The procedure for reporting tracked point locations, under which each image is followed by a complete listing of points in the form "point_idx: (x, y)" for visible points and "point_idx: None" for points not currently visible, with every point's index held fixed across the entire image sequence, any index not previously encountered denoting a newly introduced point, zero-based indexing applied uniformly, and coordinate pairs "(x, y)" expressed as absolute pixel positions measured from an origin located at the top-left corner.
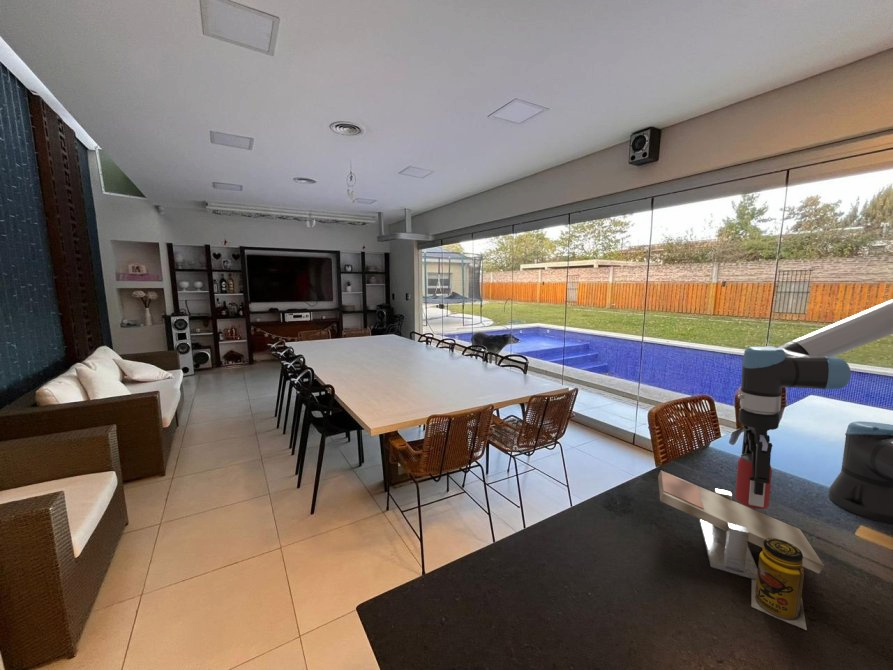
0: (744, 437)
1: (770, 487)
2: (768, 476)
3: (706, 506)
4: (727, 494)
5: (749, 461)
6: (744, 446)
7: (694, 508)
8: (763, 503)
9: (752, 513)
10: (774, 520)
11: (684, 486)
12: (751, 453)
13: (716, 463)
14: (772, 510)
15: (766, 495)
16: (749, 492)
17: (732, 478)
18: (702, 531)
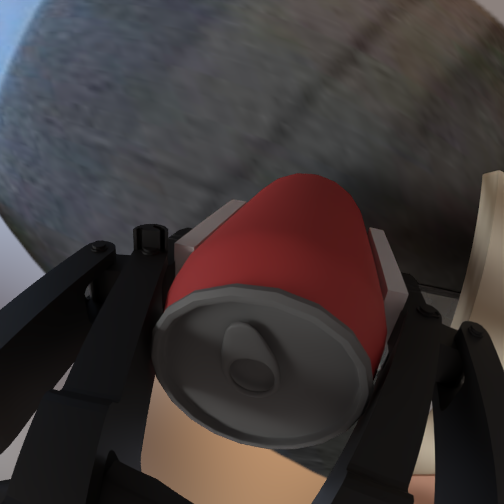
0: (23, 421)
1: (335, 203)
2: (497, 366)
3: None
4: (429, 411)
5: (327, 437)
6: (68, 364)
7: None
8: (386, 238)
9: (493, 341)
10: (500, 263)
11: (420, 500)
12: (148, 362)
13: (22, 187)
14: (224, 110)
15: (362, 224)
16: None
17: (70, 169)
18: None
